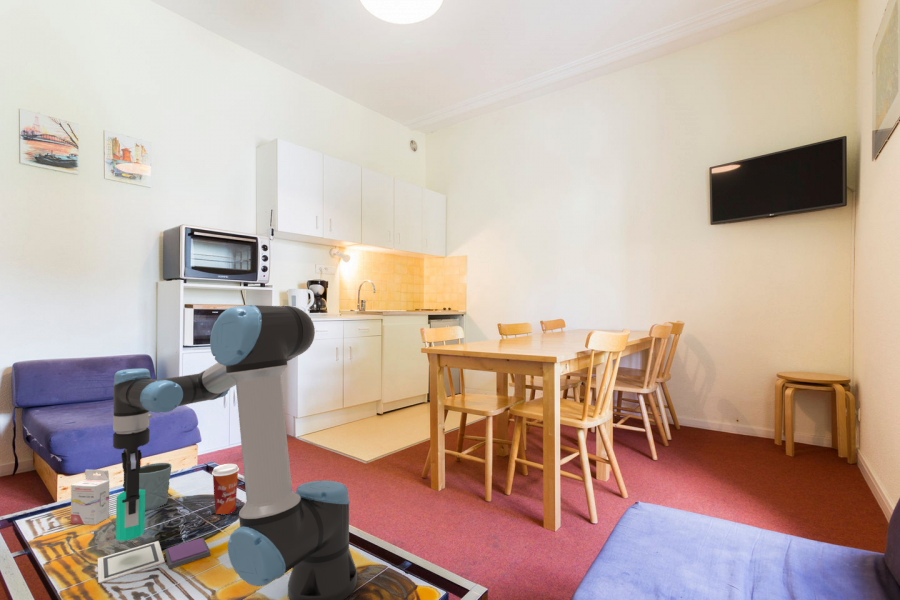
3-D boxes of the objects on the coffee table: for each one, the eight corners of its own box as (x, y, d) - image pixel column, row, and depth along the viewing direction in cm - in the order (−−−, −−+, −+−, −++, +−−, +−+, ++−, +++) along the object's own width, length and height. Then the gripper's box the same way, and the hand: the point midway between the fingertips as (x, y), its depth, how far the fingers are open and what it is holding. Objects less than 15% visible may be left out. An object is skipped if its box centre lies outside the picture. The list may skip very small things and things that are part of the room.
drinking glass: (126, 509, 139) (126, 471, 140) (155, 496, 149) (156, 461, 149) (150, 513, 136) (150, 474, 137) (178, 499, 146) (178, 463, 146)
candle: (129, 542, 107) (130, 493, 107) (109, 539, 108) (110, 491, 108) (150, 529, 113) (151, 483, 113) (131, 527, 114) (132, 481, 114)
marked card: (164, 562, 109) (164, 561, 109) (98, 583, 101) (98, 582, 101) (158, 541, 119) (158, 540, 119) (97, 559, 111) (97, 558, 111)
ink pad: (210, 555, 112) (210, 550, 112) (169, 569, 106) (169, 563, 106) (203, 541, 119) (203, 536, 119) (164, 553, 113) (164, 548, 113)
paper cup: (218, 520, 131) (218, 473, 132) (207, 513, 136) (207, 468, 136) (244, 510, 137) (244, 466, 138) (232, 504, 142) (232, 461, 142)
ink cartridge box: (69, 524, 130) (69, 474, 130) (84, 516, 135) (85, 468, 135) (95, 525, 129) (95, 475, 129) (110, 517, 134) (110, 469, 134)
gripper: (153, 434, 106) (152, 530, 106) (146, 420, 120) (145, 504, 120) (114, 441, 101) (113, 541, 101) (111, 425, 115) (110, 513, 115)
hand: (130, 521), depth 110 cm, fingers closed on candle, 5 cm apart
